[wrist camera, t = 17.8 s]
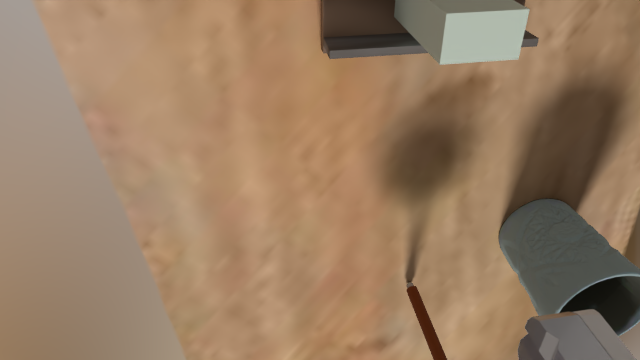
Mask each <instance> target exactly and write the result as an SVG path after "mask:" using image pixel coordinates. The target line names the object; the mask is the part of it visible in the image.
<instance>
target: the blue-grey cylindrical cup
mask: <svg viewBox="0 0 640 360" xmlns="http://www.w3.org/2000/svg"><path fill="white" fill-rule="evenodd" d="M499 244H500V248H501V250H502V252H503V253H504V255H505V257H506V259H507V261H508V262H509V264H510V266H511V267H512V269H513V270H514V271H515V272H516V273H517V274H518V277H519V280H520V283H521V284H522V285H523V286H524V287H525V290H526V291H527V293H528V294H529V296H530V299H531V301H532V304H533V306H534V307H535V309H536V311H537V313H538V315H539V316H542V315H549V314H556V313H563V312H575V311H581V310H588V309H594V310H596V311H597V312H599V313H600V314H601V316H602V317H603V318H604V319H605V321H606V322H607V323H608V324H609V326H610V327H611V328H612V329H613V331H614V332H615V333H616V334H617V336H620V335H622V334H623V333H625V332H627V331H628V330H630V329H631V328H632V327H634V326H635V325H636V324H637V323H638V322H639V321H640V269H639V268H638V267H636V266H635V265H634V264H632V263H631V262H630V261H629V260H628V259H627V258H625V257H624V256H623V255H621V254H620V252H619V251H618V250H616V249H614V248H612V247H611V246H610V245H609V243H608V242H607V240H606V239H605V238H604V237H603V236H602V235H601V234H599V233H598V232H597V231H596V230H595V229H594V228H593V227H592V226H591V225H589V224H588V223H587V222H586V221H585V220H584V219H583V218H582V217H581V216H580V215H579V214H578V213H576V212H575V211H574V210H573V209H572V208H571V207H570V206H569V205H568V204H566V203H565V202H562V201H559V200H555V199H540V200H535V201H532V202H530V203H528V204H526V205H524V206H522V207H520V208H519V209H517V210H516V211H514V212H513V213H512V214H511V215H510V216H509V217H508V218H507V220H506V221H505V222H504V224H503V226H502V228H501V230H500V233H499Z"/></svg>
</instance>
